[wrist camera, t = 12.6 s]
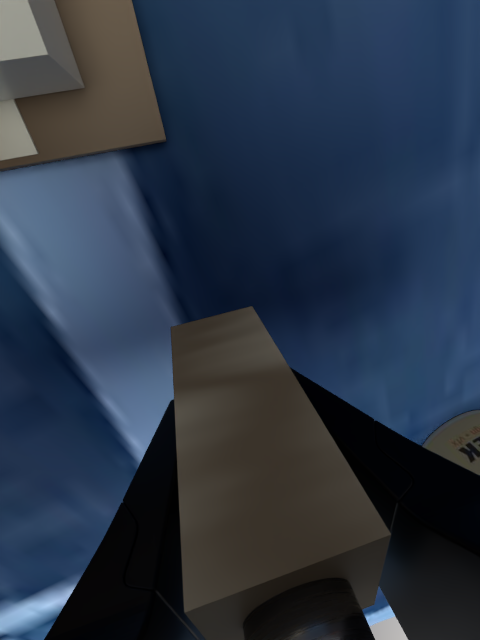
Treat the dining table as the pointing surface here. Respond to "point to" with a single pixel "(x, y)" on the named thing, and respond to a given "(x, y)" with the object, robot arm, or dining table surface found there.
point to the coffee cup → (458, 440)
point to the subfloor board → (87, 93)
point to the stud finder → (34, 50)
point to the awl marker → (265, 495)
